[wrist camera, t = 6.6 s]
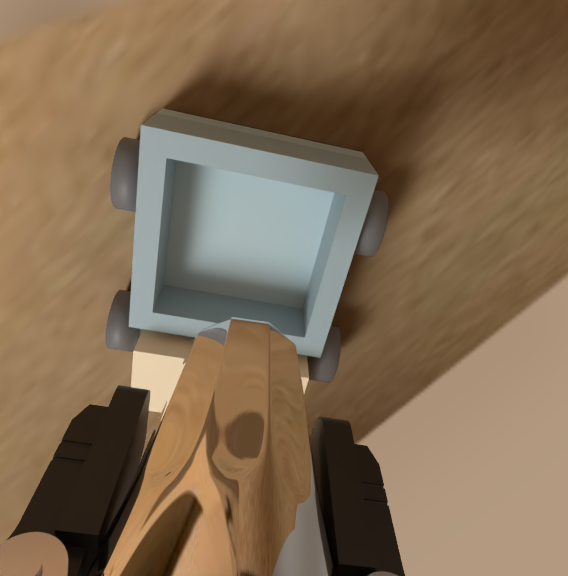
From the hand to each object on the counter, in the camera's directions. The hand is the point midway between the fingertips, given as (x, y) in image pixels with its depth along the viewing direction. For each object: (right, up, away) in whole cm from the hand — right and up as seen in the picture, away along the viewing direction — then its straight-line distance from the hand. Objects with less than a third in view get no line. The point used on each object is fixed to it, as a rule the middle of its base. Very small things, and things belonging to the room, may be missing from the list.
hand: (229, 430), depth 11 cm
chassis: (-1, +5, +12) cm, 13 cm away
